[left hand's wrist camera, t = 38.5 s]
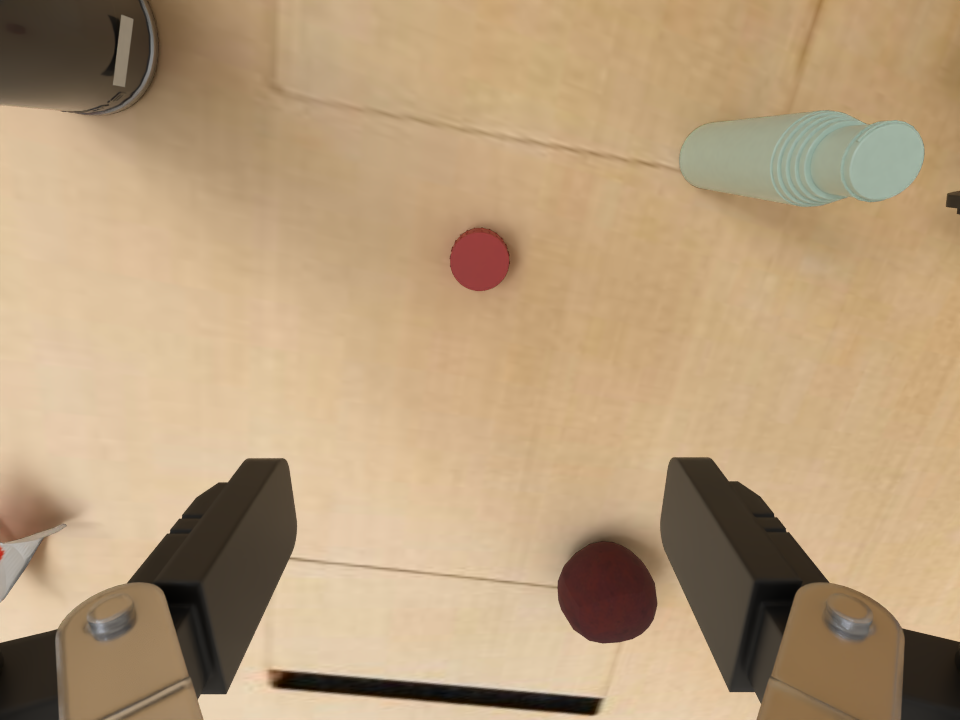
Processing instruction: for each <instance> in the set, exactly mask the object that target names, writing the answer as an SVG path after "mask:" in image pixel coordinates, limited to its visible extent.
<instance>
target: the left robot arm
mask: <svg viewBox="0 0 960 720" xmlns="http://www.w3.org/2000/svg"><path fill="white" fill-rule="evenodd" d="M158 47H159V46H158V34H157V28H156V24H155V20H154V17H153V13H152V10H151V8H150V6H149V3H148V1H147V0H0V105H2V106H14V107H25V108H36V109H49V110H59V111H63V112H72V113H77V114H84V115H108V114H114V113H117V112H120V111H122V110H124V109H126V108H128V107H130V106H131V105H133V104H134V103H135V102H137V101H138V100H139V99H140V98H141V97H142V96H143V94H144V93H145V92H146V90H147V89H148V87H149V85H150V84H151V81H152V79H153V77H154V74H155V71H156V66H157V61H158ZM660 529H661V538H662V543H663V547H664V550H665V552H666V554H667V557H668V559H669V561H670V563H671V565H672V567H673V570H674V572H675V574H676V576H677V578H678V581H679V583H680V585H681V587H682V589H683V591H684V594H685V596H686V598H687V600H688V602H689V604H690V607H691V609H692V611H693V613H694V615H695V618H696V620H697V622H698V624H699V626H700V628H701V631H702V633H703V635H704V637H705V639H706V641H707V644H708V646H709V648H710V650H711V652H712V655H713V657H714V659H715V661H716V663H717V665H718V668H719V670H720V672H721V674H722V676H723V679H724V681H725V683H726V685H727V687H728V689H729V692H755V693H756V695H757V697H758V699H759V701H760V703H761V707H760V710H759V713H758V717H757V720H960V642H957V641H953V640H949V639H945V638H940V637H936V636H932V635H927V634H923V633H919V632H915V631H910V630H906V629H903V628H901V626H900V624H899V623H898V621H897V620H896V619H895V618H894V616H893V615H892V614H891V613H890V612H889V611H888V610H887V609H886V608H884V607H883V606H882V605H880V604H879V603H878V602H876V601H875V600H873V599H871V598H870V597H868V596H866V595H864V594H862V593H860V592H858V591H856V590H853V589H851V588H848V587H845V586H841V585H837V584H832V583H829V582H828V580H827V579H826V578H825V577H824V575H823V574H822V573H821V572H820V570H819V569H818V568H817V567H816V565H815V564H814V563H813V562H812V560H811V559H810V558H809V557H808V555H807V554H806V553H805V552H804V550H803V549H802V548H801V547H800V545H799V544H798V543H797V542H796V541H795V539H794V538H793V537H792V536H791V534H790V533H789V532H786V528H785V527H784V526H783V524H782V523H781V522H780V521H779V519H778V518H777V517H774V513H773V512H772V511H771V509H770V508H769V507H768V506H767V504H766V503H765V502H764V501H763V499H762V498H761V497H760V496H759V495H757V494H756V493H754V492H753V491H751V490H750V489H748V488H747V487H745V486H744V485H742V484H741V483H739V482H738V481H728V480H727V478H726V477H725V476H724V474H723V473H722V472H721V470H720V469H719V468H718V466H717V465H716V464H715V462H714V461H713V460H712V459H711V458H708V457H674V458H672V459H671V460H670V462H669V465H668V470H667V478H666V485H665V492H664V499H663V506H662V513H661V521H660ZM296 534H297V519H296V512H295V505H294V498H293V491H292V484H291V477H290V471H289V466H288V463H287V461H286V460H285V459H283V458H248V459H246V460H245V461H244V462H243V463H242V464H241V466H240V467H239V468H238V470H237V471H236V472H235V474H234V475H233V476H232V478H231V479H230V480H229V482H228V483H217V484H216V485H214V486H213V487H211V488H210V489H208V490H207V491H206V492H204V493H203V494H201V495H200V496H198V497H197V498H196V499H195V500H194V501H193V502H192V504H191V505H190V506H189V507H188V509H187V510H186V511H185V512H184V514H183V515H182V519H179V520H178V521H177V522H176V523H175V525H174V526H173V527H172V528H171V530H170V534H167V535H166V536H165V537H164V538H163V539H162V541H161V542H160V543H159V544H158V546H157V547H156V548H155V549H154V551H153V552H152V553H151V554H150V555H149V557H148V558H147V559H146V560H145V562H144V563H143V564H142V565H141V567H140V568H139V569H138V570H137V572H136V573H135V574H134V575H133V576H132V578H131V579H130V580H129V581H128V583H127V584H123V585H119V586H115V587H112V588H109V589H107V590H104V591H102V592H100V593H98V594H96V595H94V596H92V597H90V598H89V599H87V600H85V601H84V602H82V603H81V604H80V605H78V606H77V607H76V608H74V609H73V610H72V611H71V612H70V613H69V614H68V615H67V616H66V618H65V619H64V620H63V621H62V623H61V624H60V626H59V628H58V629H56V630H53V631H49V632H45V633H41V634H36V635H32V636H28V637H24V638H19V639H15V640H11V641H7V642H2V643H0V720H203V717H202V713H201V710H200V707H199V703H198V698H199V696H200V694H227V691H228V689H229V687H230V685H231V683H232V681H233V679H234V676H235V674H236V672H237V670H238V668H239V666H240V663H241V661H242V659H243V657H244V655H245V653H246V651H247V648H248V646H249V644H250V642H251V640H252V638H253V636H254V633H255V631H256V629H257V627H258V625H259V623H260V620H261V618H262V616H263V614H264V612H265V610H266V608H267V605H268V603H269V601H270V599H271V597H272V595H273V592H274V590H275V588H276V586H277V584H278V582H279V580H280V577H281V575H282V573H283V571H284V569H285V567H286V564H287V562H288V560H289V558H290V556H291V554H292V551H293V549H294V545H295V541H296Z"/></svg>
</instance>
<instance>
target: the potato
mask: <svg viewBox="0 0 960 720" xmlns="http://www.w3.org/2000/svg"><path fill="white" fill-rule="evenodd" d="M558 601H559V604H560V607H561V610H562V612H563V613H564V615H565V617H566V618H567V620H568V621H569V623H570V625H571V626H572V628H573V629H574V630H575V631H576V632H578V633H579V634H581V635H582V636H584V637H585V638H586V639H588V640H589V641H594V642H598V643H615V642H622V641H626V640H630V639H633V638H635V637H637V636H639V635H641V634H642V633H643V632H644V631H645V630H646V629H647V628H648V627H649V626H650V624H651V623H652V621H653V619H654V616H655V612H656V608H657V597H656V589H655V583H654V581H653V579H652V577H651V575H650V573H649V571H648V570H647V568H646V566H645V565H644V564H643V562H642V561H641V560H640V559H639V558H638V557H637V556H636V555H635V554H634V553H632V552H631V551H630V550H628V549H627V548H625V547H623V546H621V545H619V544H616V543H613V542H605V541H601V542H597V543H593V544H589V545H588V546H586V547H585V548H583V549H581V550H580V551H578V552H577V553H576V554H575V555H574V556H573V557H572V558H571V559H570V560H569V561H568V562H567V563H566V564H565V566H564V567H563V570H562V572H561V575H560V577H559V580H558Z"/></svg>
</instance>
